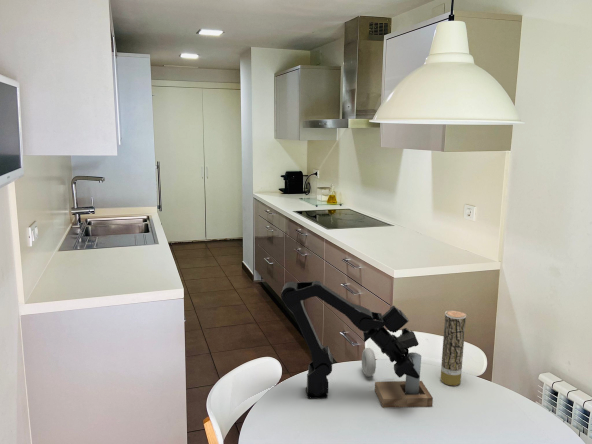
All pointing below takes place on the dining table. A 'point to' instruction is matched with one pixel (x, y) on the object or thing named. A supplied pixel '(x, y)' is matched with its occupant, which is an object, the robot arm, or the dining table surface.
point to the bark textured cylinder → (453, 347)
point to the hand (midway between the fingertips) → (417, 374)
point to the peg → (412, 382)
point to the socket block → (401, 395)
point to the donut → (368, 362)
